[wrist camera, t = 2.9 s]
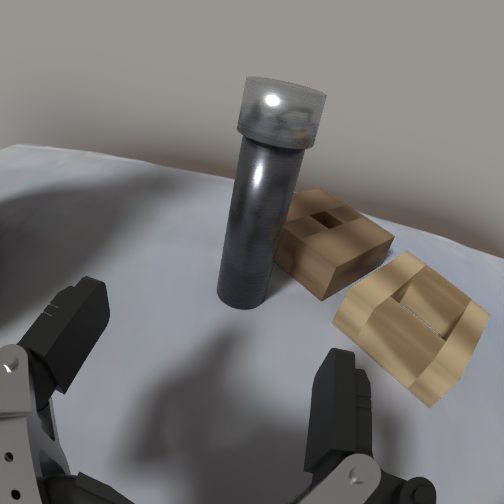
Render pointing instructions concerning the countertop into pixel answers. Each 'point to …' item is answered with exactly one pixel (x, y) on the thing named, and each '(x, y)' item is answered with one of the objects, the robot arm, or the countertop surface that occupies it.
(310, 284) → the walnut block
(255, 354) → the countertop surface
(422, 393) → the oak block
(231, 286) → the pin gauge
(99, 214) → the countertop surface
